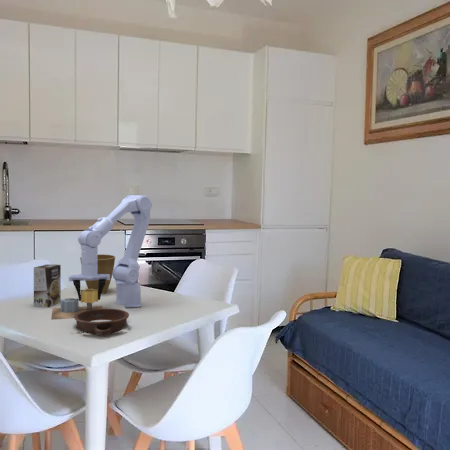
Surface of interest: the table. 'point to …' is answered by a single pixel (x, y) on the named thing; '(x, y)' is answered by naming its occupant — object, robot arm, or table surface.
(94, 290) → the ochre gear
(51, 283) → the coffee box
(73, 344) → the table surface
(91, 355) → the table surface
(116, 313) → the dish
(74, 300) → the slate gear
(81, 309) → the gear board
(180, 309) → the table surface
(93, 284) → the plant pot
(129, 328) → the table surface
